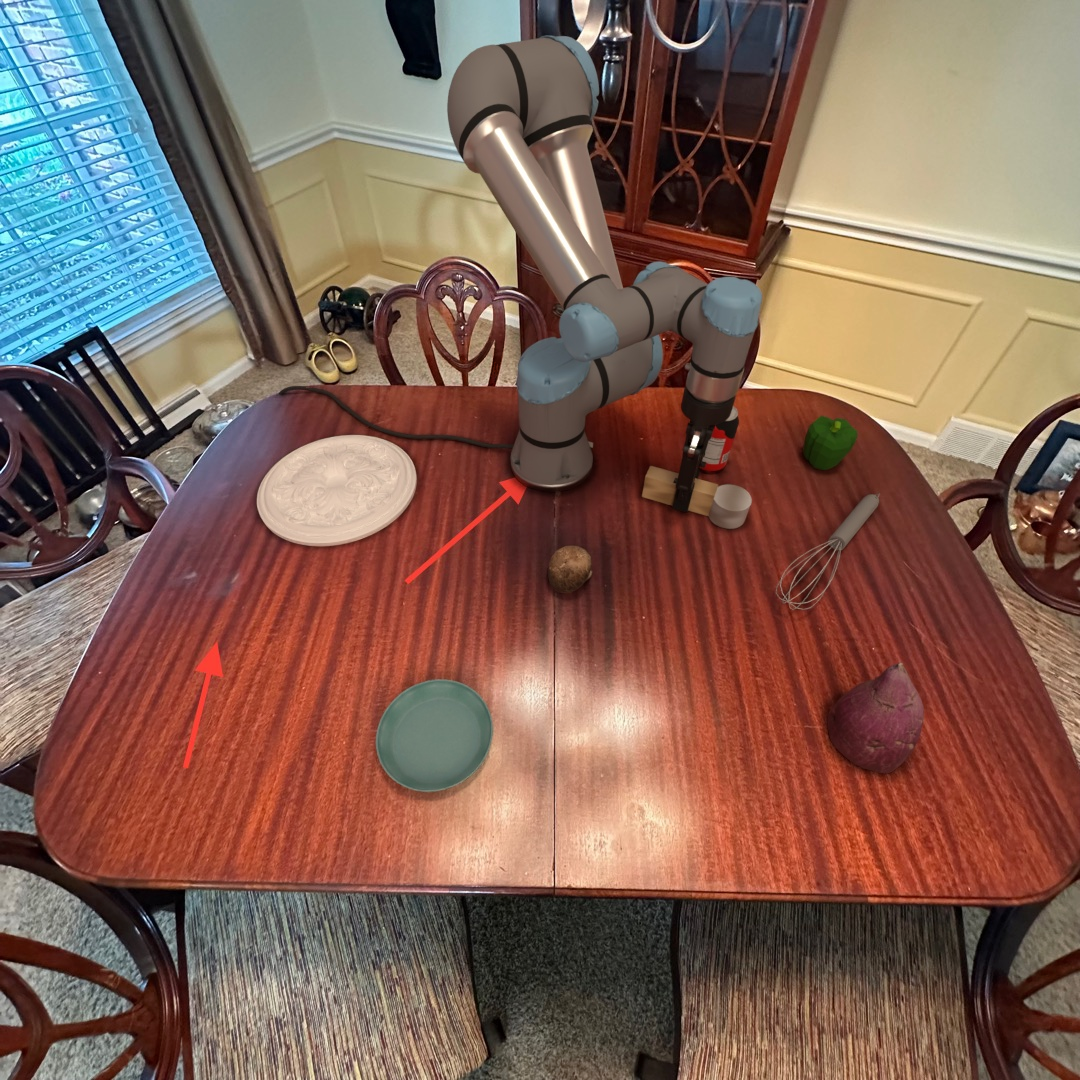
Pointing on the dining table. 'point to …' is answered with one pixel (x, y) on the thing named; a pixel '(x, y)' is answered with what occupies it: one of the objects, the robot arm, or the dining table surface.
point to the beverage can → (721, 443)
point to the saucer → (434, 735)
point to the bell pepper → (828, 442)
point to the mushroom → (569, 568)
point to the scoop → (701, 497)
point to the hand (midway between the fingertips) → (682, 502)
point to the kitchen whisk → (838, 541)
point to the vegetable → (878, 721)
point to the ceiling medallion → (336, 490)
